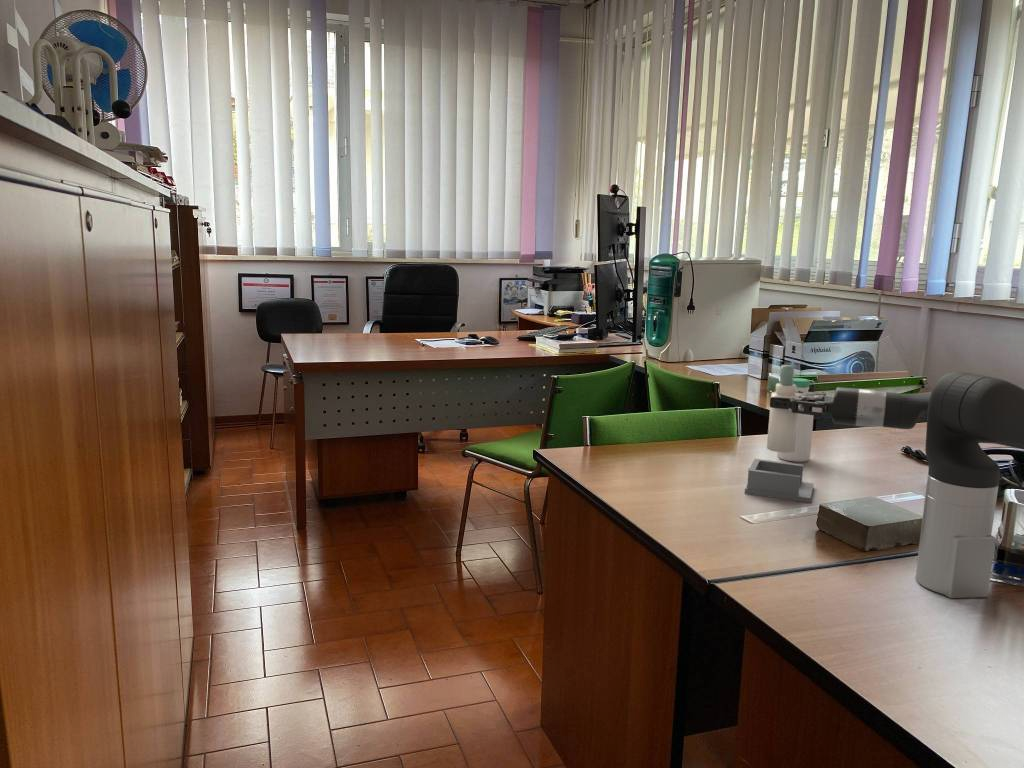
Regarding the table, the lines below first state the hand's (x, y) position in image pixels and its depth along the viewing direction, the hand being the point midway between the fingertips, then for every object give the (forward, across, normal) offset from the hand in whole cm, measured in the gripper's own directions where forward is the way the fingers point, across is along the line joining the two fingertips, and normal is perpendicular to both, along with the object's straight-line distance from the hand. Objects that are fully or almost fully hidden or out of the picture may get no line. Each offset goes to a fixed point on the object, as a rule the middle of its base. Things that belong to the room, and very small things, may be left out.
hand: (772, 399), depth 157 cm
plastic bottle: (-3, 0, -11) cm, 11 cm away
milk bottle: (-3, +28, -20) cm, 35 cm away
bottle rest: (-2, 0, -20) cm, 20 cm away
